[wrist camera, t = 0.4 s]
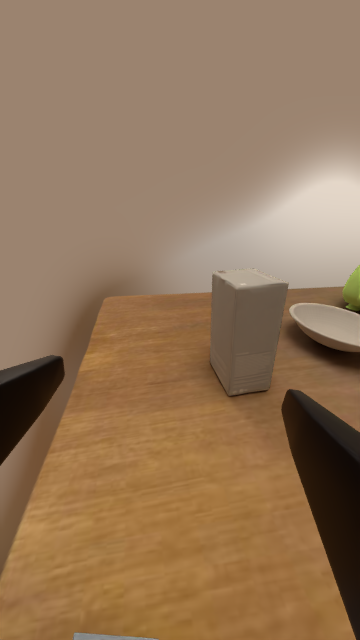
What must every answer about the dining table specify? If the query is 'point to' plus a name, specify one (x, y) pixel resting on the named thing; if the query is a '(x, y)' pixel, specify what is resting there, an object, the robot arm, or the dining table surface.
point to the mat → (105, 637)
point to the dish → (329, 325)
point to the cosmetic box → (245, 328)
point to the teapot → (353, 291)
